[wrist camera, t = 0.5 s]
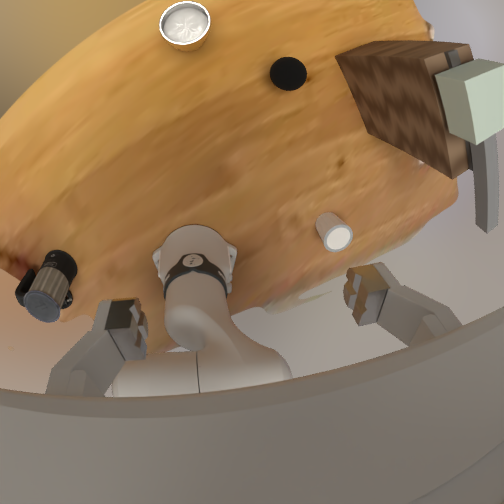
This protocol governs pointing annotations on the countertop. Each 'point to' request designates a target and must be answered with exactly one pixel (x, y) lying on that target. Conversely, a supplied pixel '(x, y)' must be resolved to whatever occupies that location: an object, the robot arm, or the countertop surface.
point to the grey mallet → (477, 126)
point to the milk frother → (48, 287)
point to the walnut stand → (408, 98)
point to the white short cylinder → (333, 232)
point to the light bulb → (288, 73)
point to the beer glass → (185, 25)
